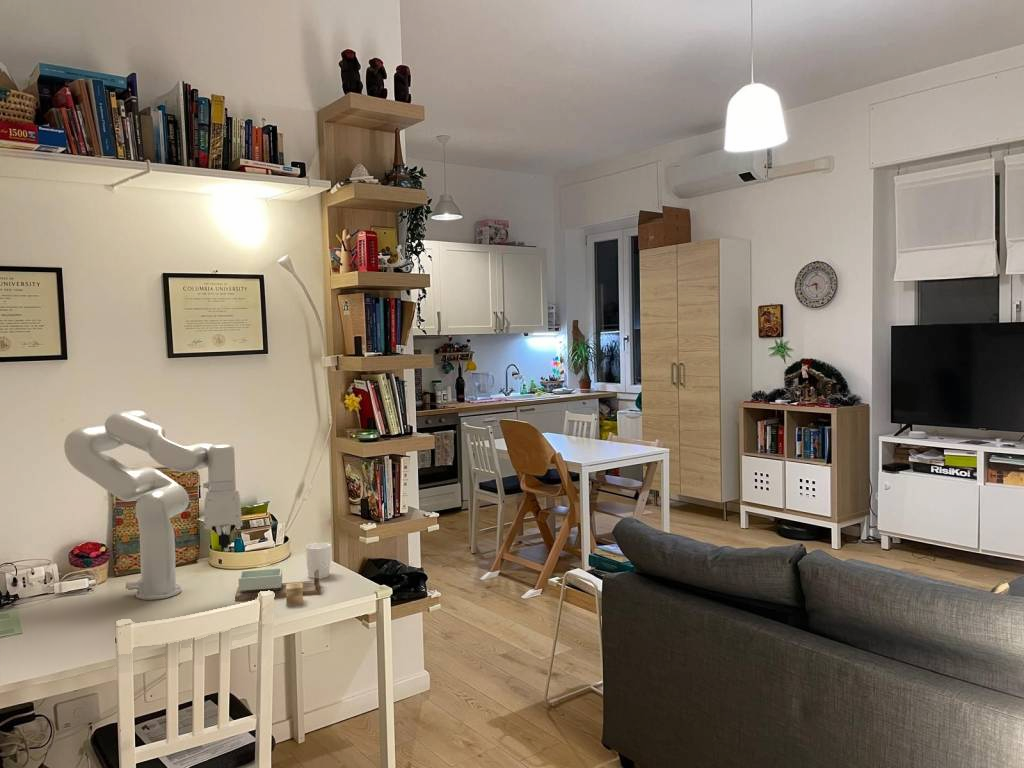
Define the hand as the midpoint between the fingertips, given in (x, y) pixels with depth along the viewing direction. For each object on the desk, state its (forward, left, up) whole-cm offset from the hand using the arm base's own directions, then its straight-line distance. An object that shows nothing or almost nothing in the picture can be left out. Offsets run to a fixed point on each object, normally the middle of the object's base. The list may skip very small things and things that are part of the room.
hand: (224, 547), depth 230 cm
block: (+20, -11, -15) cm, 27 cm away
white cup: (+27, +14, -15) cm, 34 cm away
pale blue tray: (+10, 0, -14) cm, 17 cm away
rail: (+15, 0, -15) cm, 21 cm away
